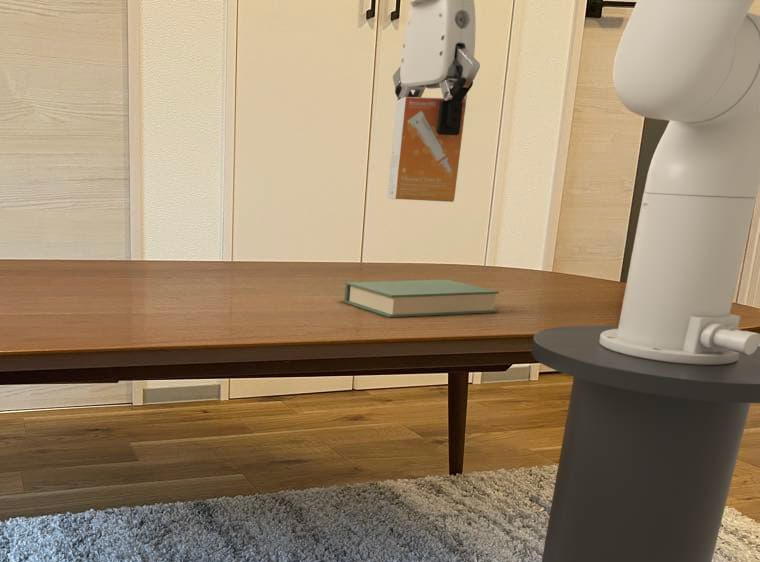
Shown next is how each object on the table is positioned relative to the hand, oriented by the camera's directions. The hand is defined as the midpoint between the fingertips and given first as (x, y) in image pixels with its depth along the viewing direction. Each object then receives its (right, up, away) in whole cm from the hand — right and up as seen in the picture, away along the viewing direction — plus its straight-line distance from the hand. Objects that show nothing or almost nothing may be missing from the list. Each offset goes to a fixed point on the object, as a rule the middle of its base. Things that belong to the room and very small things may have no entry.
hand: (426, 134), depth 104 cm
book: (+1, -22, +9) cm, 24 cm away
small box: (0, -8, +3) cm, 9 cm away
